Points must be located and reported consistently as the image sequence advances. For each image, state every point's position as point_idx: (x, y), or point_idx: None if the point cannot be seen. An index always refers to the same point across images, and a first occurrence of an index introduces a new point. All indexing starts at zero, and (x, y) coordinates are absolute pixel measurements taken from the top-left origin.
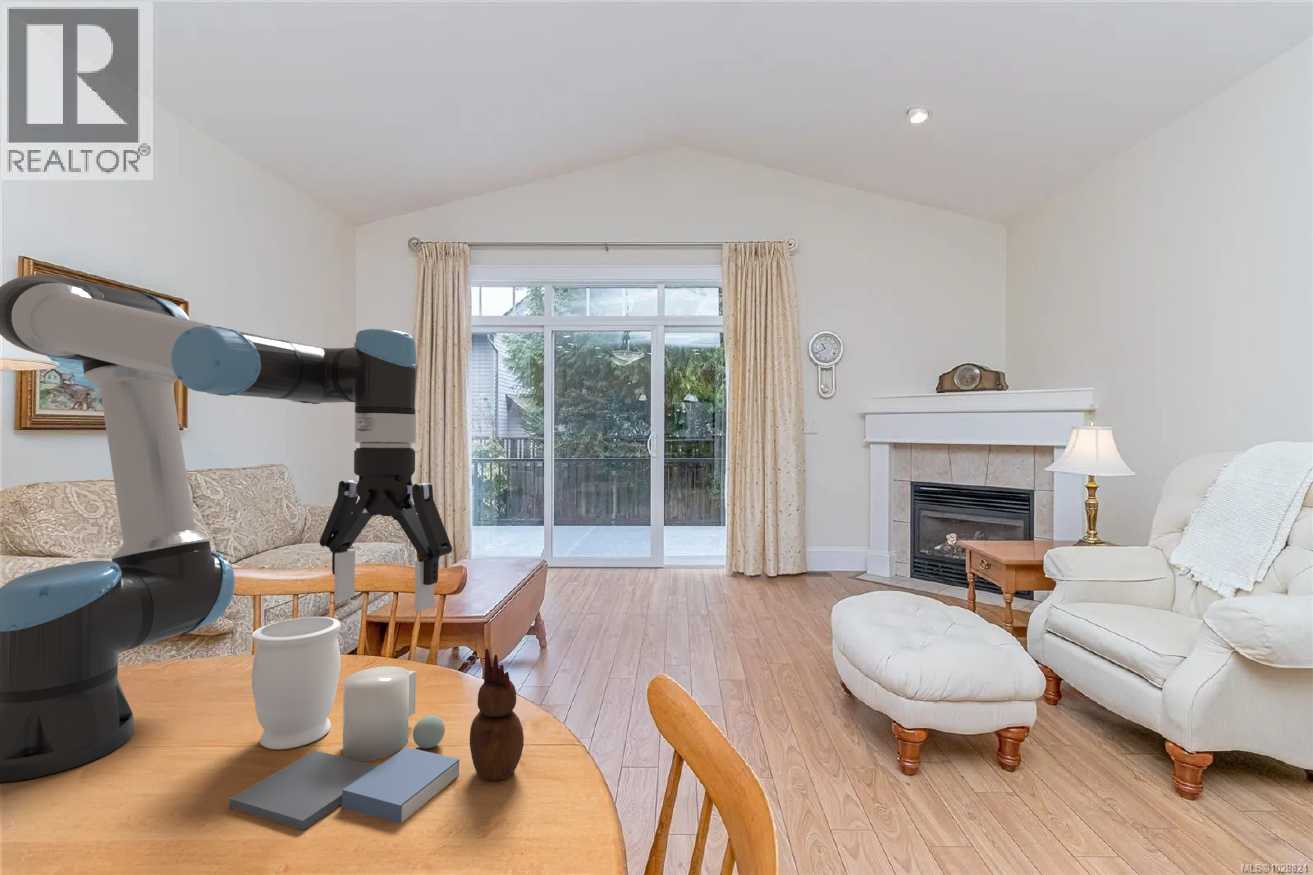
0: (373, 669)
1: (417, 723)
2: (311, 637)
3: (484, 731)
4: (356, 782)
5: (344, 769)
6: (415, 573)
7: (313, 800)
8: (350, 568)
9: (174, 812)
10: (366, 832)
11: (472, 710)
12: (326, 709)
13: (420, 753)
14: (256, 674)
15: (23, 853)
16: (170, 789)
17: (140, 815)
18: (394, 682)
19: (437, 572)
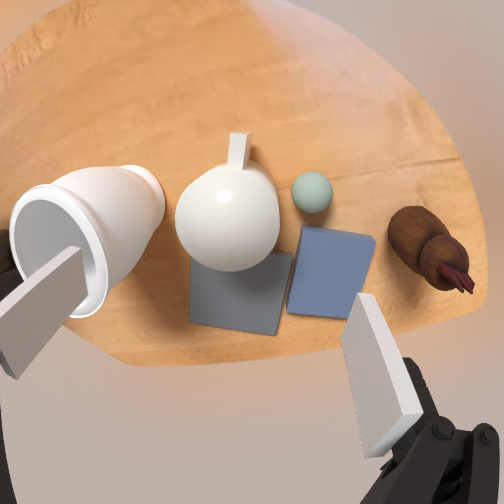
0: (193, 193)
1: (300, 204)
2: (106, 291)
3: (422, 275)
4: (291, 300)
5: (253, 269)
6: (358, 421)
7: (262, 314)
8: (33, 306)
9: (157, 325)
10: (326, 323)
11: (314, 80)
12: (155, 207)
13: (327, 239)
14: None
15: (124, 360)
16: (123, 302)
17: (140, 330)
18: (268, 235)
19: (423, 385)
